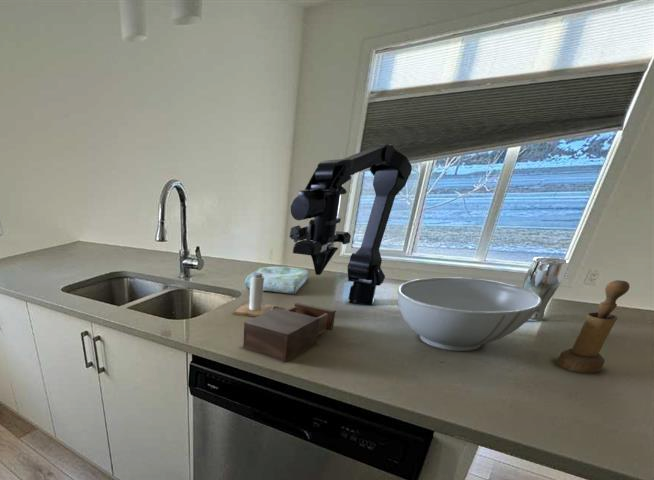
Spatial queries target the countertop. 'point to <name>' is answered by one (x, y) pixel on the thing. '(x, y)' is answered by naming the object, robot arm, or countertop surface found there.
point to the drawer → (316, 315)
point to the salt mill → (256, 291)
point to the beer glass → (544, 280)
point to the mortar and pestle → (594, 334)
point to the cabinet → (280, 333)
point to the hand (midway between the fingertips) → (318, 274)
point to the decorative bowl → (464, 310)
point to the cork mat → (246, 311)
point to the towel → (281, 279)
